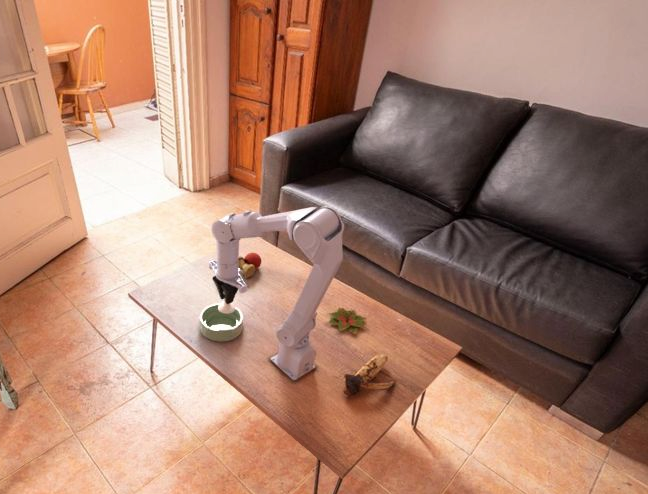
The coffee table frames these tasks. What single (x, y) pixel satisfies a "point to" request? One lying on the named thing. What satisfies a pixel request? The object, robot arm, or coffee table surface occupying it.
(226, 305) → the chess piece
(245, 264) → the kendama
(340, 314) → the succulent plant
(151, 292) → the coffee table surface
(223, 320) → the bowl
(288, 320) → the robot arm
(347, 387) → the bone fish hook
